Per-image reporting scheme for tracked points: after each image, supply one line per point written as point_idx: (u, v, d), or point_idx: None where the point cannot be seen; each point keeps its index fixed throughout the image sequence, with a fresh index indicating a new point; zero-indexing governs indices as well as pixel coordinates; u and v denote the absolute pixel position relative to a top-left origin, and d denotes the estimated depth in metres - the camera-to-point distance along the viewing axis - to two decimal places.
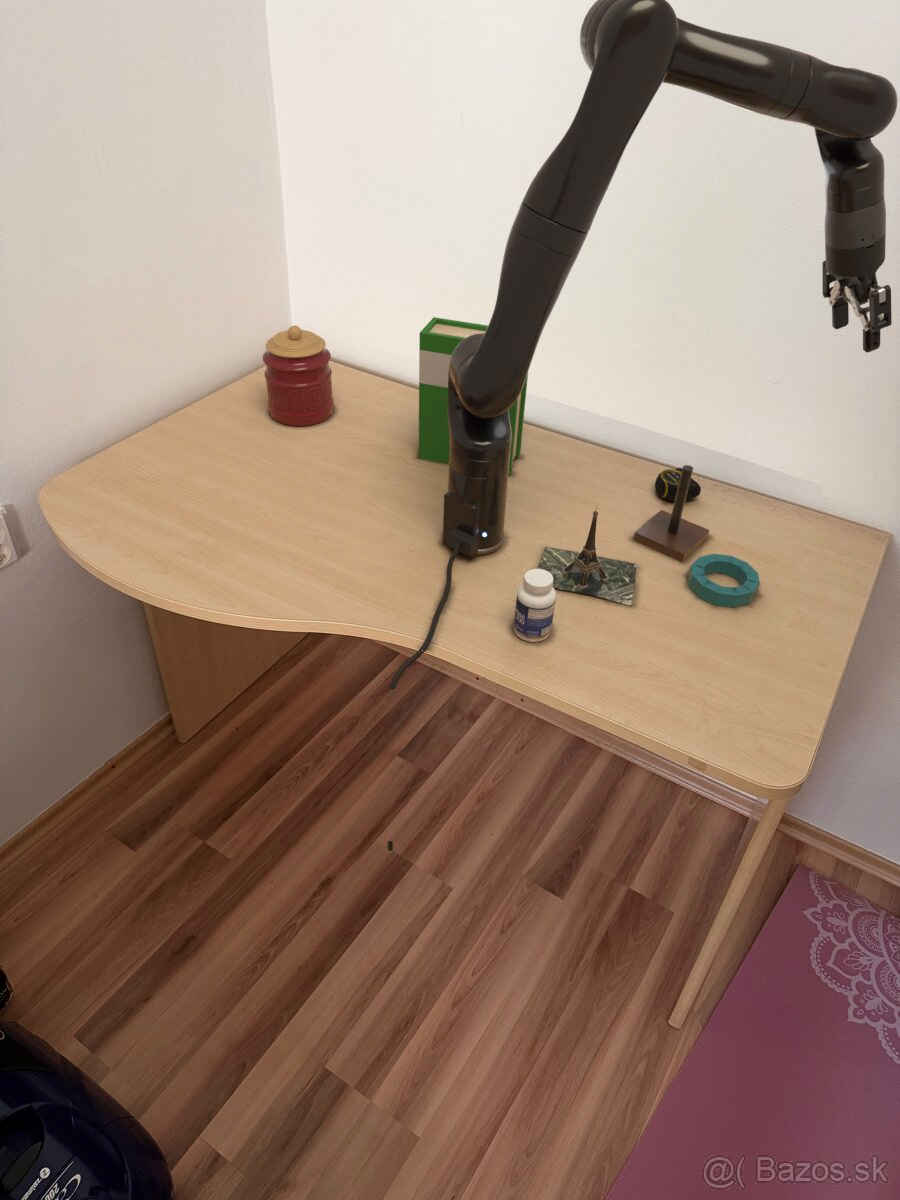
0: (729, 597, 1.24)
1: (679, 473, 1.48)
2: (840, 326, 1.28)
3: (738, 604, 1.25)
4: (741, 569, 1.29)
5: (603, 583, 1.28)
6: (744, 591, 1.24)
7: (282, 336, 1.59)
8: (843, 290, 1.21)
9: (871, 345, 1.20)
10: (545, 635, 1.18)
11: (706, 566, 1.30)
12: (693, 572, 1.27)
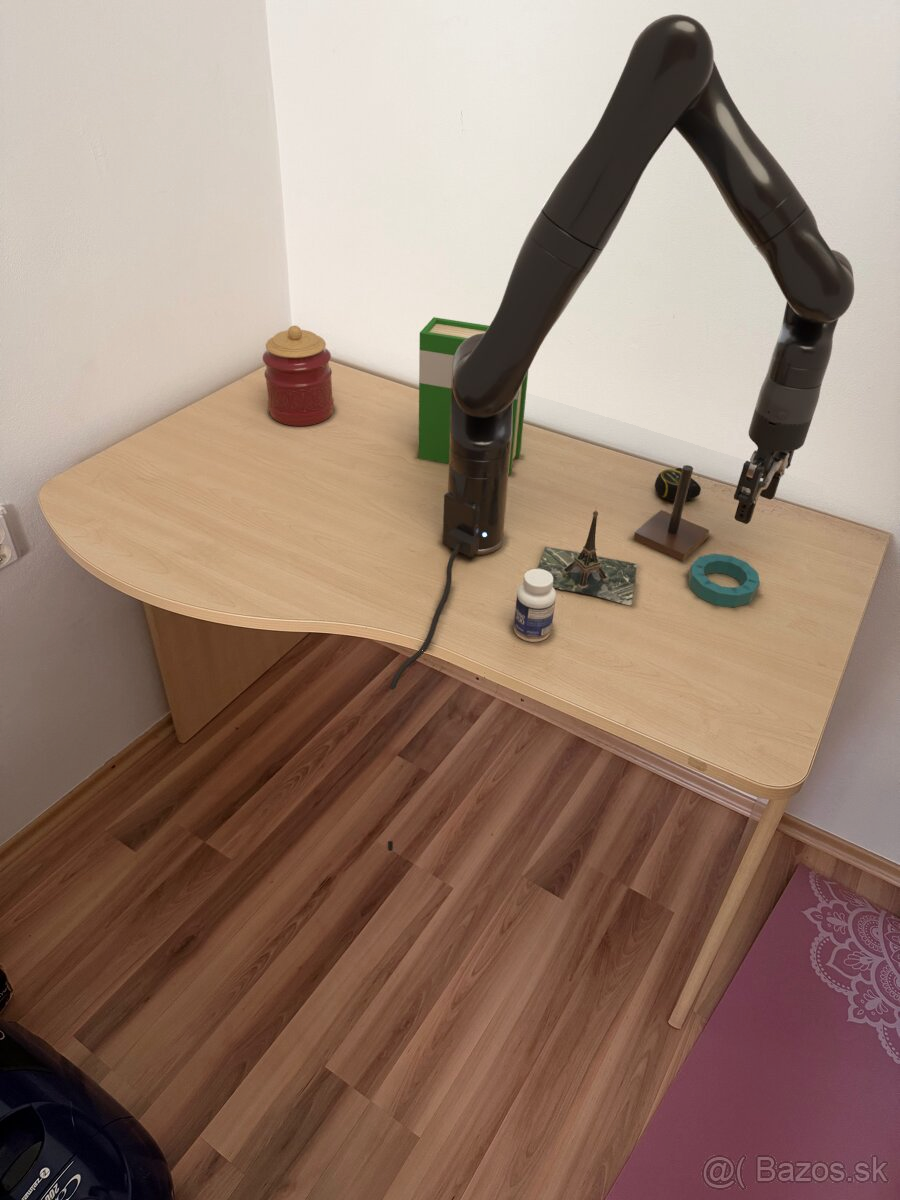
0: (729, 597, 1.24)
1: (679, 473, 1.48)
2: (764, 495, 1.26)
3: (738, 604, 1.25)
4: (741, 569, 1.29)
5: (603, 583, 1.28)
6: (744, 591, 1.24)
7: (282, 336, 1.59)
8: None
9: (736, 514, 1.20)
10: (545, 635, 1.18)
11: (706, 566, 1.30)
12: (693, 572, 1.27)
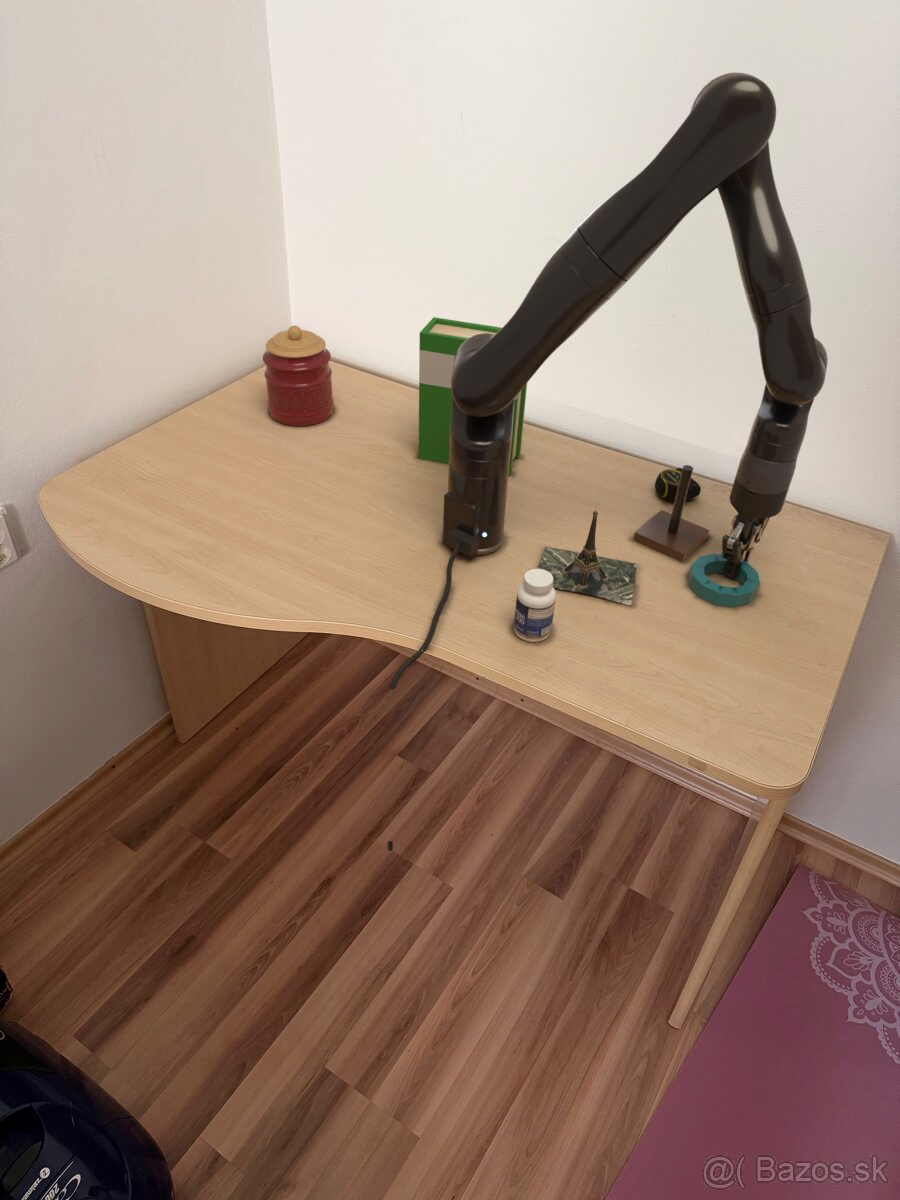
0: (729, 597, 1.24)
1: (679, 473, 1.48)
2: None
3: (738, 604, 1.25)
4: (741, 569, 1.29)
5: (603, 583, 1.28)
6: (744, 591, 1.24)
7: (282, 336, 1.59)
8: None
9: (725, 570, 1.29)
10: (545, 635, 1.18)
11: (706, 566, 1.30)
12: (693, 572, 1.28)
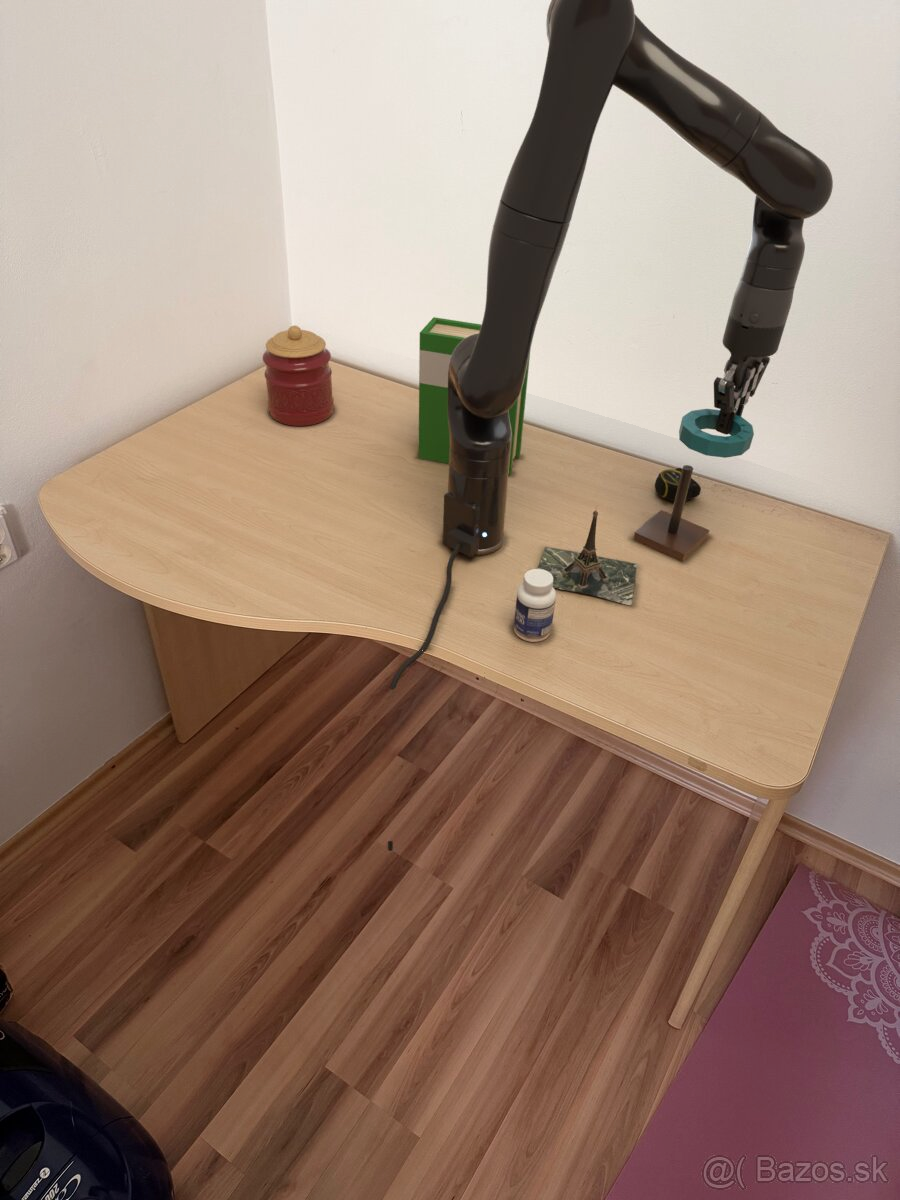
0: (721, 445, 1.17)
1: (679, 473, 1.48)
2: None
3: (730, 454, 1.18)
4: (735, 422, 1.22)
5: (603, 583, 1.28)
6: (737, 440, 1.17)
7: (282, 336, 1.59)
8: None
9: (717, 424, 1.23)
10: (545, 635, 1.18)
11: (698, 419, 1.23)
12: (684, 423, 1.21)
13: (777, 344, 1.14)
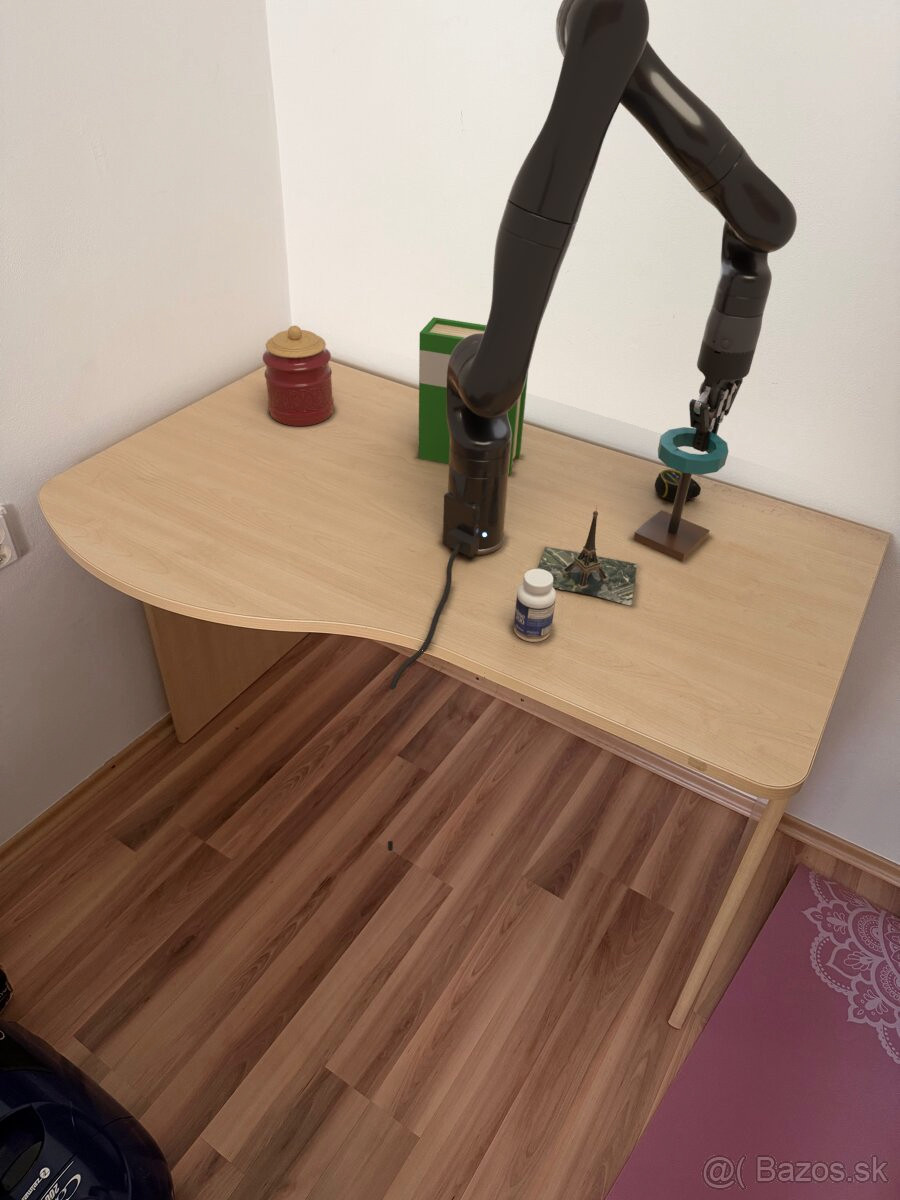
0: (697, 463, 1.24)
1: (679, 473, 1.48)
2: None
3: (706, 471, 1.25)
4: (710, 440, 1.28)
5: (603, 583, 1.28)
6: (712, 458, 1.24)
7: (282, 336, 1.59)
8: None
9: (694, 442, 1.29)
10: (545, 635, 1.18)
11: (675, 438, 1.29)
12: (662, 442, 1.27)
13: (748, 367, 1.20)
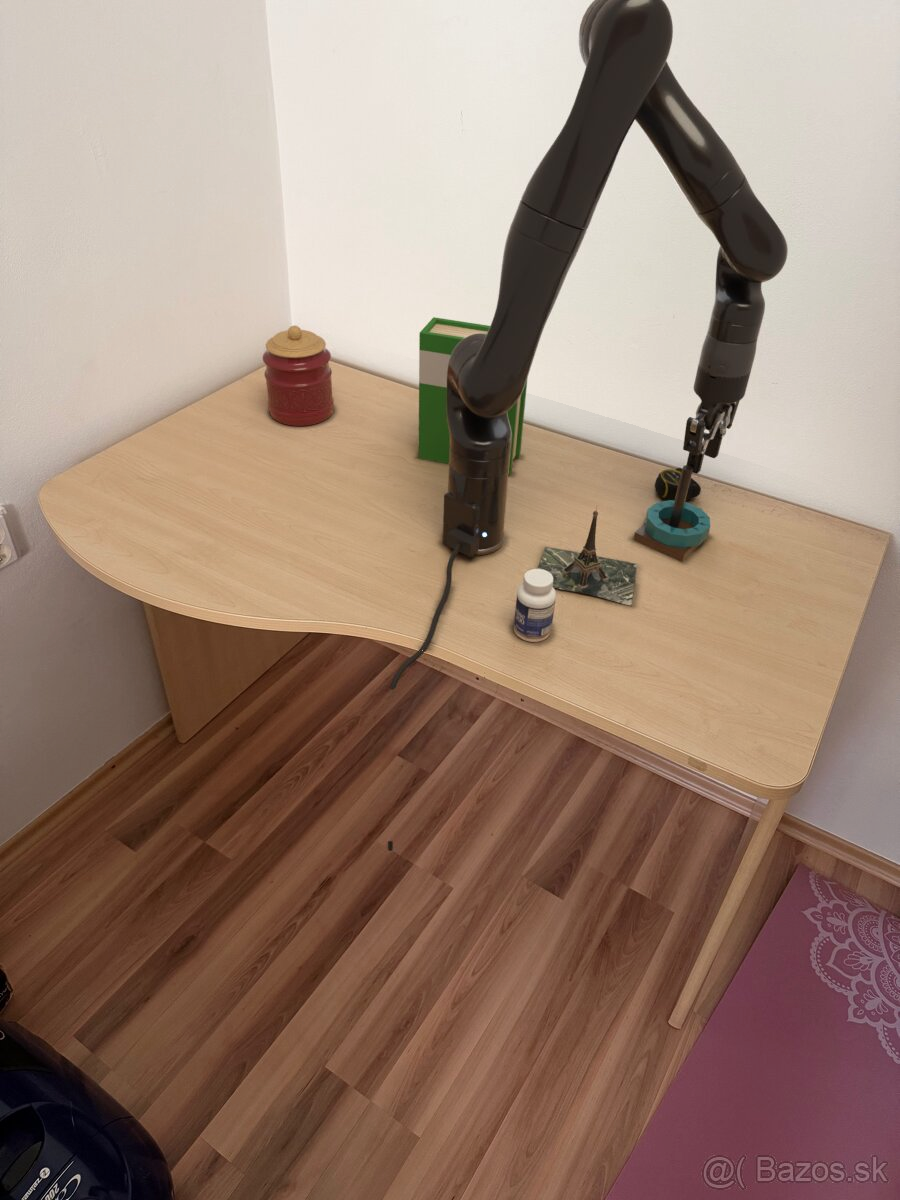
0: (680, 537, 1.33)
1: (679, 473, 1.48)
2: (708, 454, 1.35)
3: (689, 545, 1.34)
4: (694, 514, 1.37)
5: (603, 583, 1.28)
6: (694, 533, 1.33)
7: (282, 336, 1.59)
8: None
9: (687, 464, 1.31)
10: (545, 635, 1.18)
11: (662, 511, 1.38)
12: (648, 515, 1.36)
13: (743, 391, 1.23)
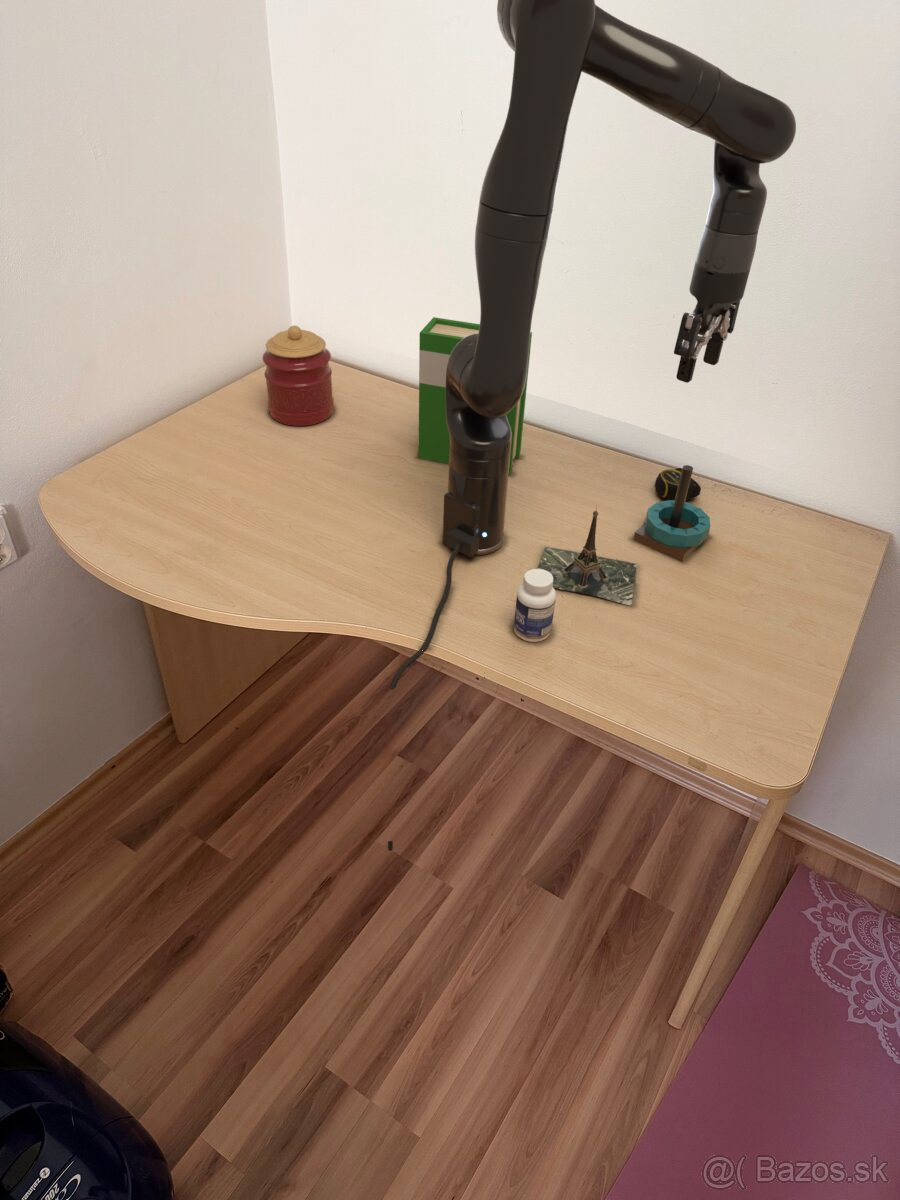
0: (680, 537, 1.33)
1: (679, 473, 1.48)
2: (708, 361, 1.29)
3: (689, 545, 1.34)
4: (694, 514, 1.37)
5: (603, 583, 1.28)
6: (694, 533, 1.33)
7: (282, 336, 1.59)
8: None
9: (678, 372, 1.23)
10: (545, 635, 1.18)
11: (662, 511, 1.38)
12: (648, 515, 1.36)
13: (742, 290, 1.16)
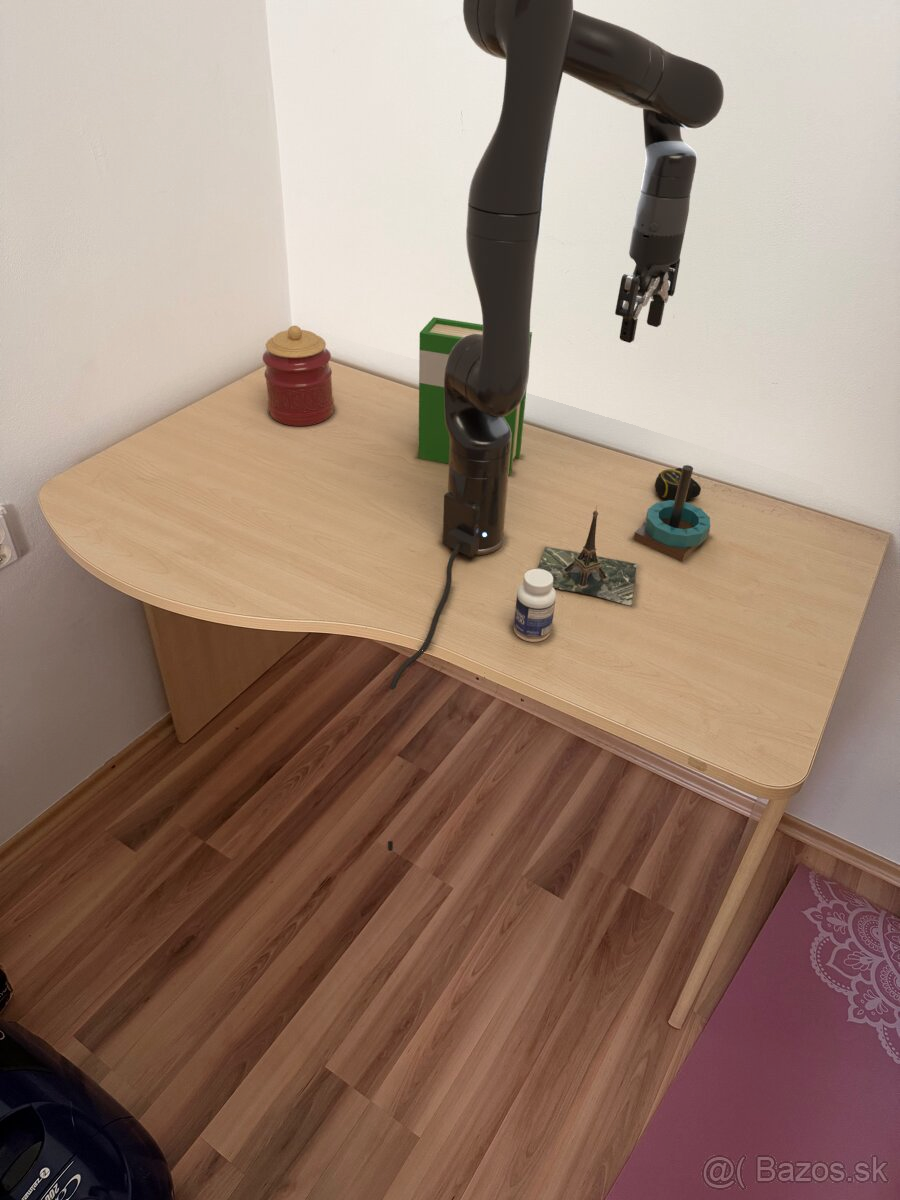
0: (680, 537, 1.33)
1: (679, 473, 1.48)
2: (651, 323, 1.35)
3: (689, 545, 1.34)
4: (694, 514, 1.37)
5: (603, 583, 1.28)
6: (694, 533, 1.33)
7: (282, 336, 1.59)
8: None
9: (620, 332, 1.29)
10: (545, 635, 1.18)
11: (662, 511, 1.38)
12: (648, 515, 1.36)
13: (677, 252, 1.23)
